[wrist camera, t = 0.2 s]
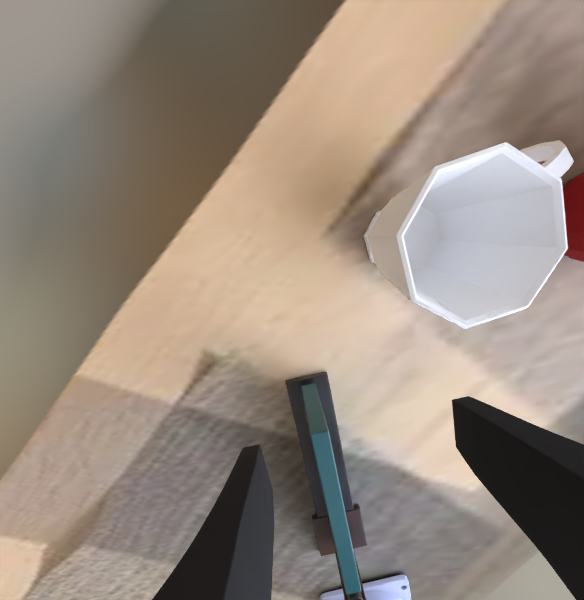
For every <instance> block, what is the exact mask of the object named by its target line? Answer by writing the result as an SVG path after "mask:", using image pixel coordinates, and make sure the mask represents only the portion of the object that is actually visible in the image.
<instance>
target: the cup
mask: <svg viewBox="0 0 584 600" xmlns="http://www.w3.org/2000/svg"><path fill="white" fill-rule="evenodd" d="M540 161H546V162H544V163H543V164H542V165H540V164H538V163H537V162H540ZM573 162H574V161H573V159H572V157H571V155H570V153H569V151H568V149H567V147H566V146H565V145H564V144H563V143H562V142H561V141H560V140H559V141H552V142H546V143H540V144H537V145H534V146H530V147H527V148H523V149H521V150H517V149H516V148H514V147H513V146H511V145H510V144H508V143H507V142H505V143H502V144H499V145H496V146H493V147H490V148H487V149H485V150H482V151H479V152H476V153H473V154H470V155H467V156H464V157H461V158H458V159H455V160H452V161H449V162H447V163H444V164H441V165H438V166H435V167H433V168H432V169H431V170H429V171H428V172H426V173H425V174H424V175H422V176H421V177H420V178H418V179H417V180H416V181H414V182H413V183H412V184H411V185H409V186H408V187H407V188H405V189H404V190H402V191H401V192H399V193H398V194H397V195H395V196H394V197H392V198H391V200H390V201H389V202H388V203H387V204H386V206H385V207H384V208H383V209H382V210H381V211H378V212H376V214H375V216H374V217H373V219H372V221H371V223H370V225H369V227H368V229H367V231H366V232H365V234H364V240H365V244H366V247H367V251H368V255H369V259H370V261H372V262H373V263H375V264H376V266H377V268H378V269H379V271H380V273H381V274H382V275H383V276H384V277H385V278H386V279H388V280H389V281H390V282H391V283H392V284H393V285H394V286H395V287H396V288H397V289H398V290H399V291H400V292H402V293H403V294H404V295H405V296H406V297H407V298H408V299H409V300H410V301H412V302H414V303H416V304H417V305H419V306H421V307H423V308H425V309H427V310H429V311H431V312H433V313H435V314H437V315H439V316H441V317H443V318H445V319H447V320H449V321H451V322H453V323H455V324H456V325H458V326H460V327H462V328H464V329H467V328H470V327H473V326H476V325H479V324H482V323H485V322H488V321H491V320H494V319H497V318H500V317H503V316H506V315H509V314H511V313H514V312H517V311H520V310H523V309H526V308H528V307H529V305H530V304H531V302H532V301H533V299H534V298H535V296H536V295H537V293H538V292H539V291H540V289H541V288H542V286H543V285H544V283H545V282H546V280H547V279H548V277H549V276H550V274H551V273H552V271H553V270H554V268H555V267H556V265H557V264H558V263H559V261H560V260H561V258H562V257H563V255H564V254H565V252H566V251H567V249H568V244H567V232H566V221H565V209H564V198H563V186H562V179H561V178H560V177H561V176H562V175H563V174H564V173H566V172H567V171H568V169H569V168H570V166H571V165H572V164H573Z"/></svg>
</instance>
